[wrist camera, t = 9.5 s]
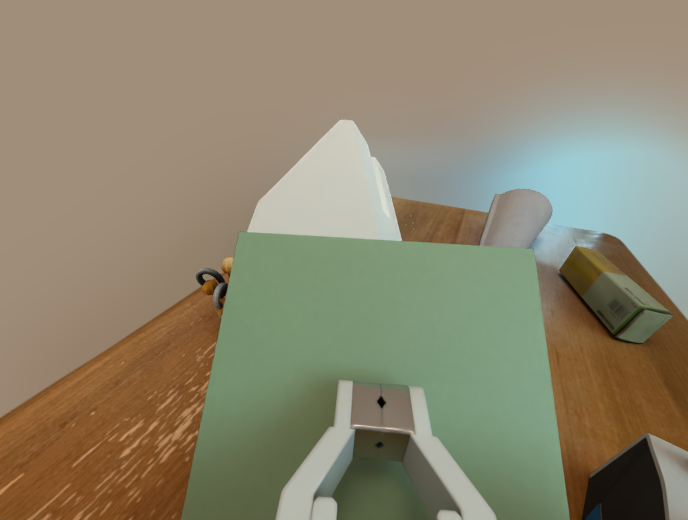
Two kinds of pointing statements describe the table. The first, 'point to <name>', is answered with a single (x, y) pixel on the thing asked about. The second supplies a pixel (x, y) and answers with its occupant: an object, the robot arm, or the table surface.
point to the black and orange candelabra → (216, 284)
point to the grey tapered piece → (516, 219)
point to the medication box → (614, 296)
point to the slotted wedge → (331, 193)
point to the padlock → (640, 483)
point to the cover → (378, 373)
